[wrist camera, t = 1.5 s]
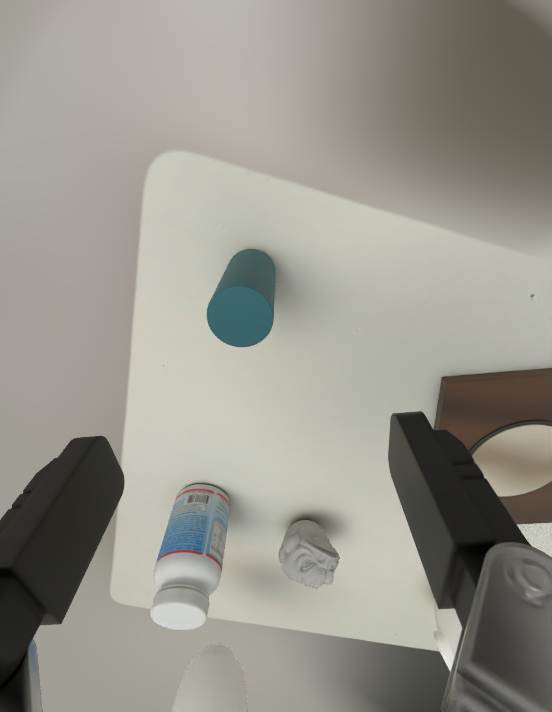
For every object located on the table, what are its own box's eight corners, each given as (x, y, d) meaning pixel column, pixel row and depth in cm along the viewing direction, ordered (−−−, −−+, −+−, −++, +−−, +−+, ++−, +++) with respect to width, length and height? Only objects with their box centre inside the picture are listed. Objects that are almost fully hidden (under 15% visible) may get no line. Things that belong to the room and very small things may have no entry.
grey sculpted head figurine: (345, 517, 39) (357, 582, 33) (308, 546, 42) (313, 611, 36) (303, 496, 38) (307, 561, 32) (267, 528, 41) (265, 593, 34)
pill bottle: (168, 506, 39) (130, 623, 29) (189, 474, 36) (156, 590, 26) (216, 524, 40) (196, 640, 30) (240, 494, 38) (227, 611, 28)
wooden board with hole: (441, 377, 30) (447, 384, 29) (637, 360, 29) (651, 368, 28) (419, 521, 40) (423, 531, 39) (564, 513, 39) (572, 523, 38)
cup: (205, 535, 41) (148, 826, 23) (264, 545, 42) (252, 832, 24) (197, 568, 45) (141, 842, 27) (251, 576, 46) (232, 848, 28)
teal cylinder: (225, 248, 25) (200, 289, 17) (272, 243, 24) (269, 282, 17) (233, 293, 26) (213, 350, 18) (277, 289, 26) (276, 344, 18)
